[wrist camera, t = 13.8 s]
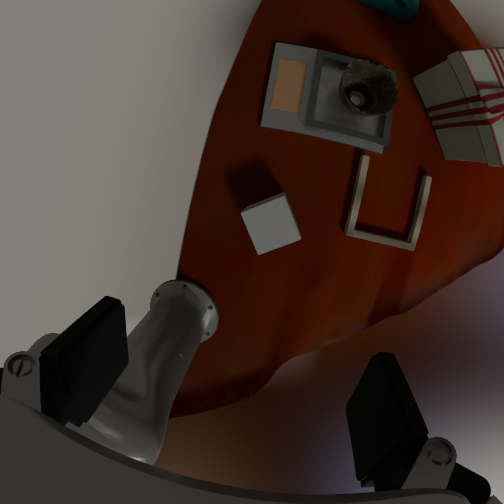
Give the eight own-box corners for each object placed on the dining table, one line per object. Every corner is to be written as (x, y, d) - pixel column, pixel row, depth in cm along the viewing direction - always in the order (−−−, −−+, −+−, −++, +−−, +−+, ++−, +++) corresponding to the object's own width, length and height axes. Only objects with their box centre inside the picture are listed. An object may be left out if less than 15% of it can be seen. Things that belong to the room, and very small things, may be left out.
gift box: (452, 183, 36) (521, 199, 20) (404, 80, 32) (460, 45, 16) (506, 150, 32) (569, 155, 16) (465, 59, 28) (522, 34, 12)
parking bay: (410, 248, 40) (413, 251, 39) (343, 232, 41) (346, 235, 39) (427, 176, 36) (431, 177, 35) (360, 155, 37) (363, 154, 36)
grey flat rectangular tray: (380, 154, 37) (386, 153, 34) (261, 127, 37) (259, 123, 35) (390, 72, 32) (397, 67, 29) (276, 44, 33) (275, 36, 30)
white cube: (261, 242, 43) (258, 255, 37) (246, 206, 41) (240, 213, 36) (299, 229, 41) (301, 239, 36) (284, 191, 40) (284, 195, 34)
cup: (384, 89, 32) (404, 75, 25) (372, 131, 35) (392, 124, 27) (337, 69, 33) (349, 50, 25) (324, 112, 35) (334, 99, 27)
